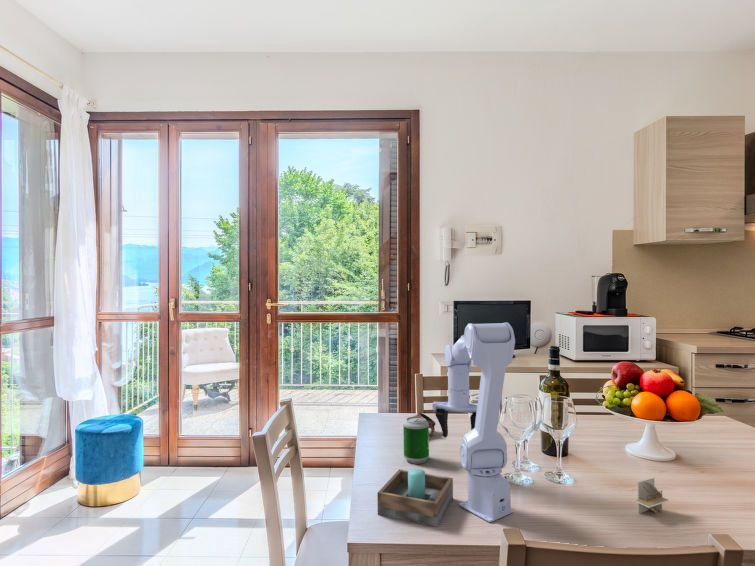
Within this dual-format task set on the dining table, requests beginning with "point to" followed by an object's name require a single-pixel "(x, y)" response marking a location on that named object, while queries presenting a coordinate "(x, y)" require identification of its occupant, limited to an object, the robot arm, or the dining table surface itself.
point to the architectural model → (649, 496)
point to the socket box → (415, 499)
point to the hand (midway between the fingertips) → (459, 438)
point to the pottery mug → (430, 422)
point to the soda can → (416, 439)
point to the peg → (416, 483)
